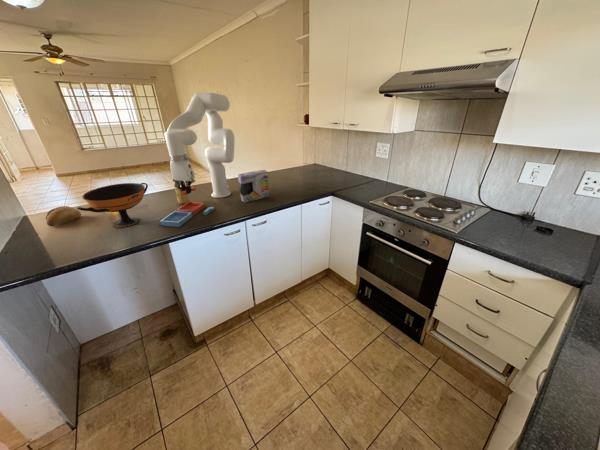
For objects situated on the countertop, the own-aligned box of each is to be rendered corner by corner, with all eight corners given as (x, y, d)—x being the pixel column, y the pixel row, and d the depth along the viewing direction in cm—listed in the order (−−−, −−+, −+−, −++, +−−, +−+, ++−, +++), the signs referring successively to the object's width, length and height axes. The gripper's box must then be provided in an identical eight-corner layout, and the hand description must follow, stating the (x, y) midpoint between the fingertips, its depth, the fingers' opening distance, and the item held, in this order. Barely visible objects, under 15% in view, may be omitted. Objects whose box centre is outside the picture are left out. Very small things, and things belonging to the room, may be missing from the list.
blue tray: (175, 215, 138) (174, 211, 137) (193, 216, 136) (192, 212, 135) (160, 225, 127) (159, 221, 126) (179, 226, 125) (178, 222, 124)
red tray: (189, 205, 150) (188, 201, 149) (205, 206, 148) (204, 202, 147) (177, 214, 139) (176, 210, 138) (194, 215, 137) (193, 211, 136)
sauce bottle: (179, 202, 154) (171, 171, 145) (189, 201, 156) (182, 170, 147) (178, 206, 149) (170, 174, 140) (189, 204, 151) (182, 173, 142)
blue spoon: (209, 208, 146) (209, 205, 145) (215, 208, 145) (214, 205, 145) (201, 214, 138) (201, 211, 137) (207, 215, 137) (207, 212, 137)
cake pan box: (242, 203, 152) (238, 175, 144) (239, 201, 156) (235, 173, 148) (269, 197, 162) (268, 170, 154) (266, 195, 166) (264, 169, 157)
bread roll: (43, 226, 125) (35, 212, 122) (74, 214, 138) (68, 201, 134) (56, 229, 123) (48, 215, 119) (86, 217, 136) (80, 203, 132)
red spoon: (190, 188, 136) (189, 185, 135) (196, 188, 136) (195, 185, 135) (181, 194, 128) (180, 191, 127) (187, 195, 128) (186, 191, 127)
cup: (134, 207, 148) (125, 178, 139) (171, 211, 142) (163, 182, 134) (72, 236, 117) (55, 202, 108) (115, 243, 111) (101, 207, 103)
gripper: (197, 156, 124) (204, 191, 132) (168, 155, 126) (177, 189, 134) (189, 160, 117) (197, 196, 126) (159, 159, 119) (169, 194, 128)
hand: (187, 192), depth 130 cm, fingers closed on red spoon, 1 cm apart
